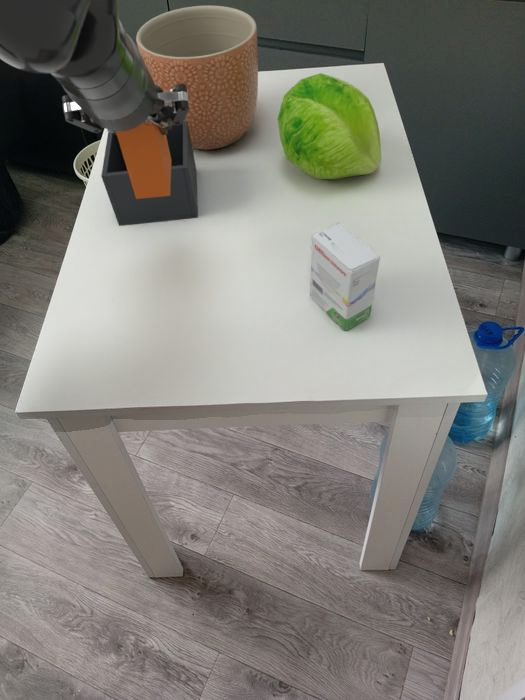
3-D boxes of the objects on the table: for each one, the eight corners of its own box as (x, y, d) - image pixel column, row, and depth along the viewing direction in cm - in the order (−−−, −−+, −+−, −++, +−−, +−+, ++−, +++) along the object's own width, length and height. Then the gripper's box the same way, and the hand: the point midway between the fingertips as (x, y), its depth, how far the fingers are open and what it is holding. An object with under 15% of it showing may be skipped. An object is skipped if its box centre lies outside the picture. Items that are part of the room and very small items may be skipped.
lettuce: (350, 219, 87) (413, 138, 79) (251, 150, 83) (306, 57, 74) (349, 188, 101) (402, 116, 93) (264, 128, 97) (311, 47, 88)
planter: (138, 139, 103) (110, 37, 88) (210, 96, 112) (196, -4, 96) (212, 176, 94) (196, 70, 79) (283, 126, 103) (281, 21, 88)
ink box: (371, 316, 73) (383, 255, 63) (344, 332, 71) (351, 272, 62) (334, 281, 77) (339, 219, 68) (308, 295, 76) (309, 234, 66)
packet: (136, 199, 66) (113, 125, 58) (139, 163, 70) (119, 90, 62) (170, 195, 66) (152, 122, 58) (171, 160, 71) (155, 87, 62)
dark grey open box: (118, 225, 87) (101, 176, 80) (124, 178, 96) (108, 128, 88) (197, 217, 88) (188, 167, 80) (196, 170, 96) (187, 120, 88)
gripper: (178, 26, 47) (197, 91, 64) (23, 40, 47) (83, 102, 64) (187, 111, 48) (204, 153, 65) (36, 126, 48) (92, 164, 65)
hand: (144, 128), depth 64 cm, fingers closed on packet, 4 cm apart
